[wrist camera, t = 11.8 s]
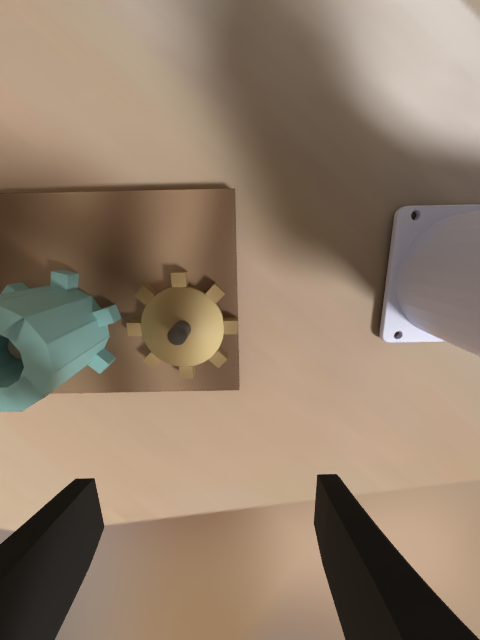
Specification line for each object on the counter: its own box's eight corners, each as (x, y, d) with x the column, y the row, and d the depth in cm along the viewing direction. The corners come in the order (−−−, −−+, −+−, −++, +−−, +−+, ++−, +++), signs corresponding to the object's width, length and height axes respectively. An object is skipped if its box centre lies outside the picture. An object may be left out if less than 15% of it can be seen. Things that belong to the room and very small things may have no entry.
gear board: (235, 191, 15) (233, 168, 10) (239, 384, 18) (239, 424, 14) (-13, 196, 15) (-113, 176, 11) (34, 387, 18) (-28, 429, 14)
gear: (114, 268, 15) (55, 277, 10) (129, 376, 17) (85, 427, 12) (-4, 271, 15) (-119, 281, 10) (24, 378, 17) (-63, 430, 12)
